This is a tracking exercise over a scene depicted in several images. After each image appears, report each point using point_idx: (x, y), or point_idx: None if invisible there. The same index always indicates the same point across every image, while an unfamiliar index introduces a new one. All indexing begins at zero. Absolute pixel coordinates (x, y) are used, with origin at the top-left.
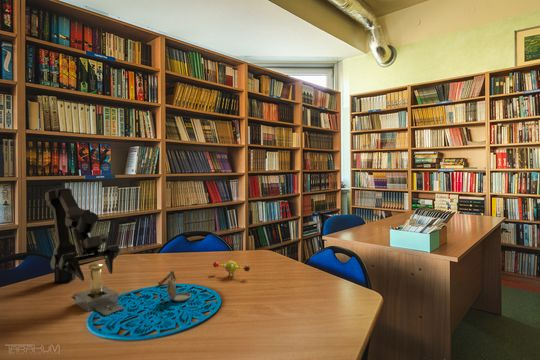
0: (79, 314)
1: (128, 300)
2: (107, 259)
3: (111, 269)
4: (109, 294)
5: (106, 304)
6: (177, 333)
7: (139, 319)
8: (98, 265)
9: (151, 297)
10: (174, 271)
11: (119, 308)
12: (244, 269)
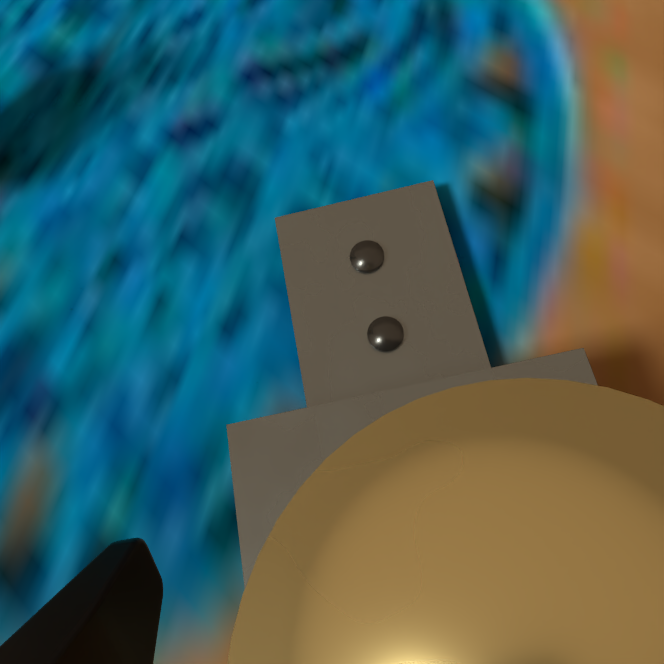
0: (634, 363)
1: (172, 399)
2: None
3: (84, 589)
4: (316, 446)
5: (376, 388)
6: None
7: (254, 27)
8: (467, 454)
9: (3, 330)
10: None
11: (306, 224)
12: None
